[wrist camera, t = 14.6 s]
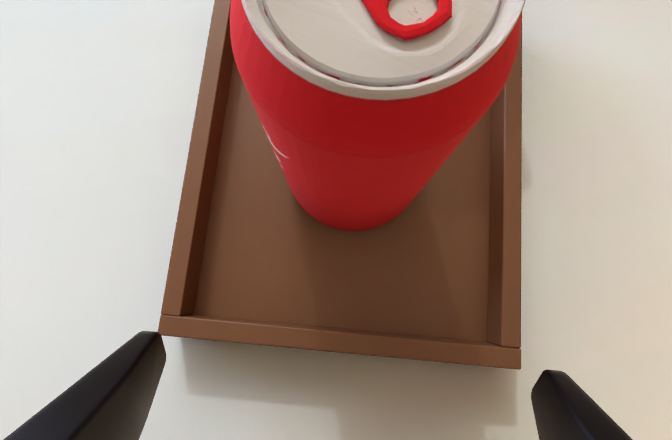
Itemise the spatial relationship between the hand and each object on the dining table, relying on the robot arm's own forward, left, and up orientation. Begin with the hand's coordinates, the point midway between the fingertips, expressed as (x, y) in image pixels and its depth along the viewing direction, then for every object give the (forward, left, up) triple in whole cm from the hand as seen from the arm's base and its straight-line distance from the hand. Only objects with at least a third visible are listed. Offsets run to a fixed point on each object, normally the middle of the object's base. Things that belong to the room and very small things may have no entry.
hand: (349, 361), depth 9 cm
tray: (+7, 0, -9) cm, 12 cm away
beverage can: (+7, 0, -8) cm, 11 cm away
